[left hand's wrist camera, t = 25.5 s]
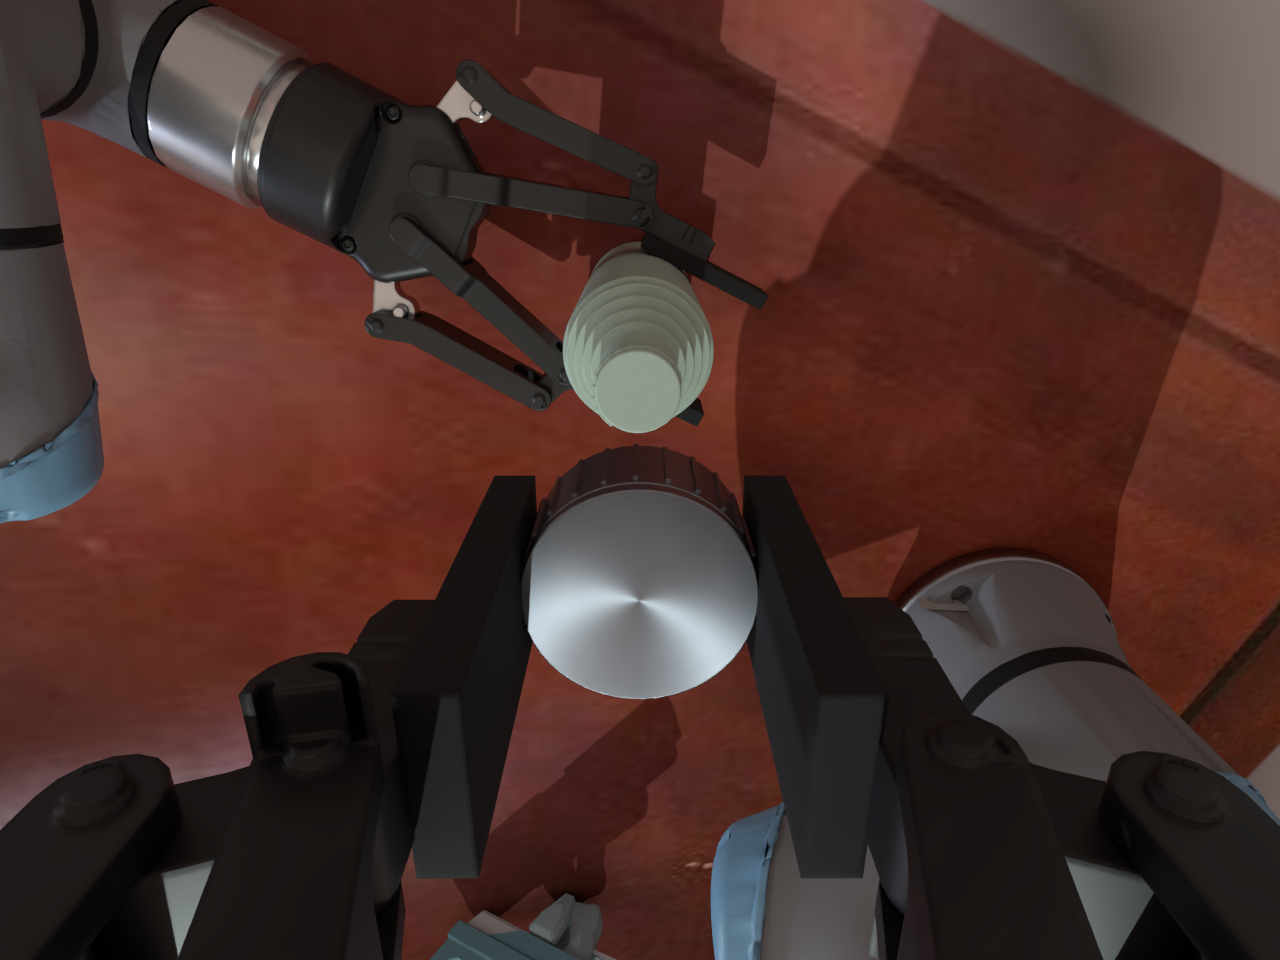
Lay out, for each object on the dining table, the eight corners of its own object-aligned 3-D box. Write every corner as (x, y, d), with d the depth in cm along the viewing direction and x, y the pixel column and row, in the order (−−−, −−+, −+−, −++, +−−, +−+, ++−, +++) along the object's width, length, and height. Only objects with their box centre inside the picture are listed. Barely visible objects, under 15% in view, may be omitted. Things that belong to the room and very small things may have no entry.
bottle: (637, 218, 43) (636, 257, 23) (710, 293, 44) (768, 391, 24) (566, 295, 44) (507, 394, 24) (639, 365, 46) (639, 511, 26)
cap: (495, 493, 14) (471, 545, 12) (696, 407, 14) (706, 446, 12) (589, 661, 16) (582, 732, 14) (776, 590, 15) (797, 653, 13)
